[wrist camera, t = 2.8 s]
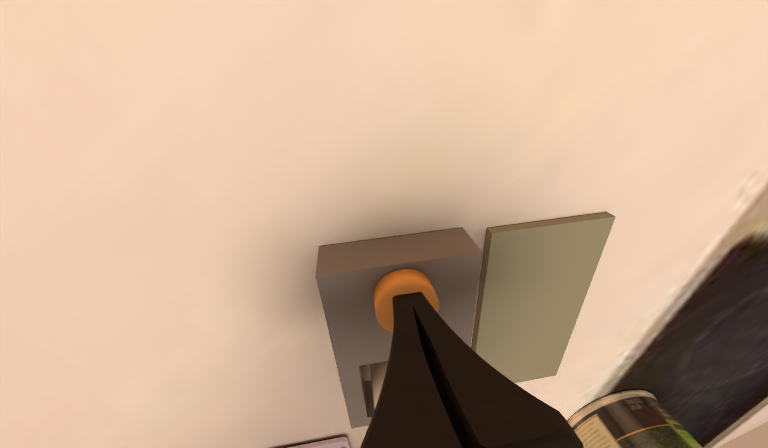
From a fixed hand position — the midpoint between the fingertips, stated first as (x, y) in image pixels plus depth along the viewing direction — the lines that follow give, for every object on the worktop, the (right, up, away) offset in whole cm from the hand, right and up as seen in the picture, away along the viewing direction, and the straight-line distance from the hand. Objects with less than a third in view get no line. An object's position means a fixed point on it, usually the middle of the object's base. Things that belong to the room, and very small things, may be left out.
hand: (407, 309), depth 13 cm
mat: (+9, -2, +7) cm, 12 cm away
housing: (0, -3, +6) cm, 6 cm away
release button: (0, +2, +3) cm, 4 cm away
